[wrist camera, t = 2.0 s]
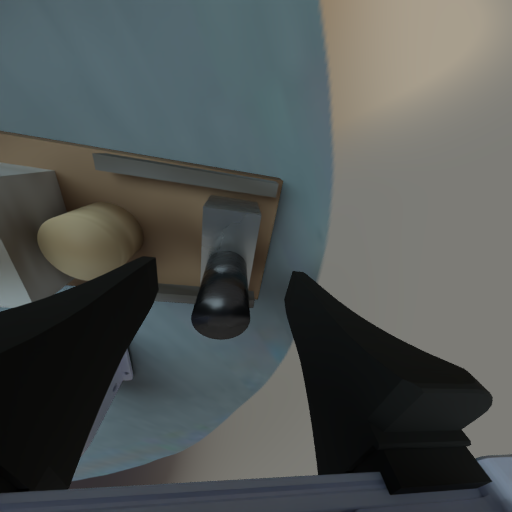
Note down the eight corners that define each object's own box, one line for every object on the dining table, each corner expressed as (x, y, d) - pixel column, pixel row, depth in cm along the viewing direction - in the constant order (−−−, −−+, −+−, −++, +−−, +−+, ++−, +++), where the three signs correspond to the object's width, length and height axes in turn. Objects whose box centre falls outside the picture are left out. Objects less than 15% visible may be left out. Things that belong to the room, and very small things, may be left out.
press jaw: (243, 286, 16) (245, 371, 10) (206, 283, 16) (184, 369, 9) (256, 201, 13) (273, 248, 7) (210, 194, 12) (182, 238, 6)
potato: (146, 259, 14) (125, 283, 12) (86, 253, 14) (51, 277, 11) (140, 206, 13) (113, 221, 10) (71, 197, 12) (24, 210, 9)
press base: (256, 288, 18) (262, 337, 14) (47, 271, 16) (-36, 323, 11) (278, 177, 14) (300, 192, 9) (-10, 129, 11) (-194, 113, 7)
